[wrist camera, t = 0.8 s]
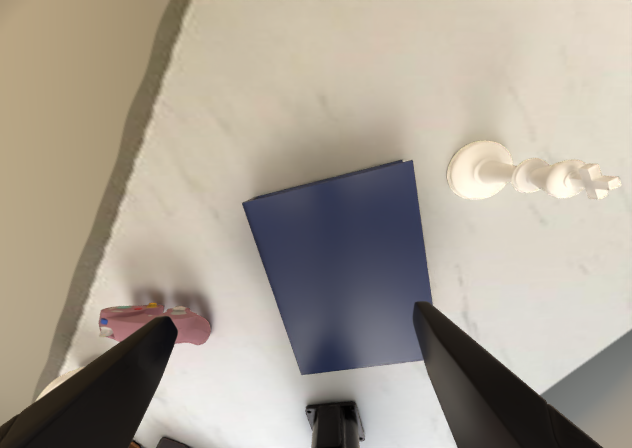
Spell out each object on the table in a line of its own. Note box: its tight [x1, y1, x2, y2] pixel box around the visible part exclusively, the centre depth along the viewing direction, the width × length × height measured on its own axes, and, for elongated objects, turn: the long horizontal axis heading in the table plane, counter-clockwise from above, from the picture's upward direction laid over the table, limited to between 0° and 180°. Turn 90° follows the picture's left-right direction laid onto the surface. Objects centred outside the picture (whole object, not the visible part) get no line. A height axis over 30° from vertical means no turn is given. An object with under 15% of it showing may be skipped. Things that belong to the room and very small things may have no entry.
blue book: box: [242, 160, 433, 375], centre depth 22 cm, size 19×14×3 cm
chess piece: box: [447, 141, 621, 200], centre depth 15 cm, size 5×5×10 cm
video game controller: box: [99, 303, 211, 345], centre depth 24 cm, size 10×5×7 cm, turn 88°
